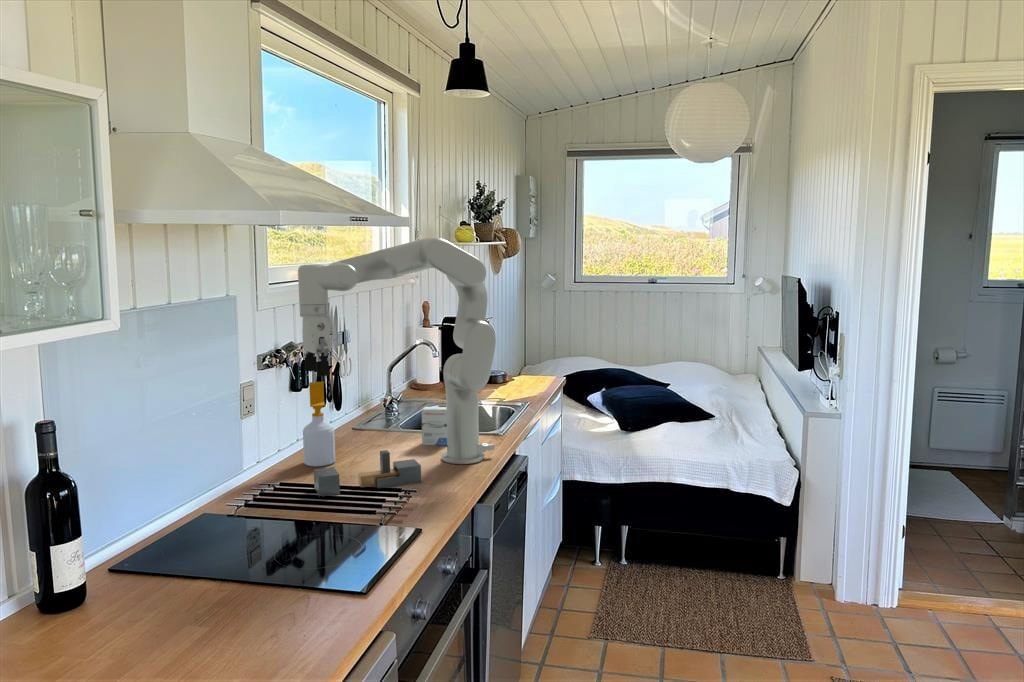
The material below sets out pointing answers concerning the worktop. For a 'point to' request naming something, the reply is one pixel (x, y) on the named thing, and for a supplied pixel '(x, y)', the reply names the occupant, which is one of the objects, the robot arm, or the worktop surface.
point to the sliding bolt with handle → (385, 471)
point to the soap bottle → (318, 432)
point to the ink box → (434, 426)
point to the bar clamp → (407, 474)
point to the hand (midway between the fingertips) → (317, 373)
